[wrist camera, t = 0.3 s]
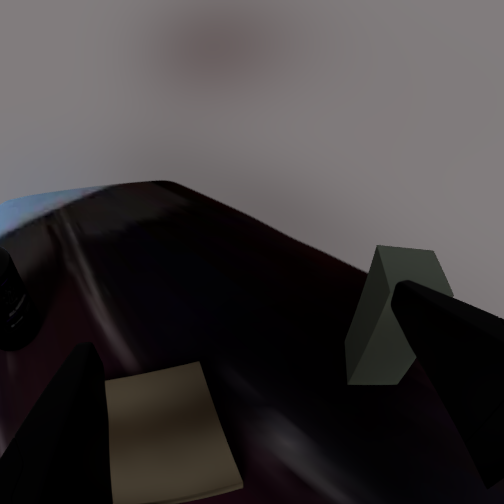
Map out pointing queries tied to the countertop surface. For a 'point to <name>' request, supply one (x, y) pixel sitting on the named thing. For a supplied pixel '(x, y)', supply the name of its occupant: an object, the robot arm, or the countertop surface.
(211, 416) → the oak block
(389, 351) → the sage block
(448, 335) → the robot arm
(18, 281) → the supplement bottle
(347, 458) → the countertop surface
